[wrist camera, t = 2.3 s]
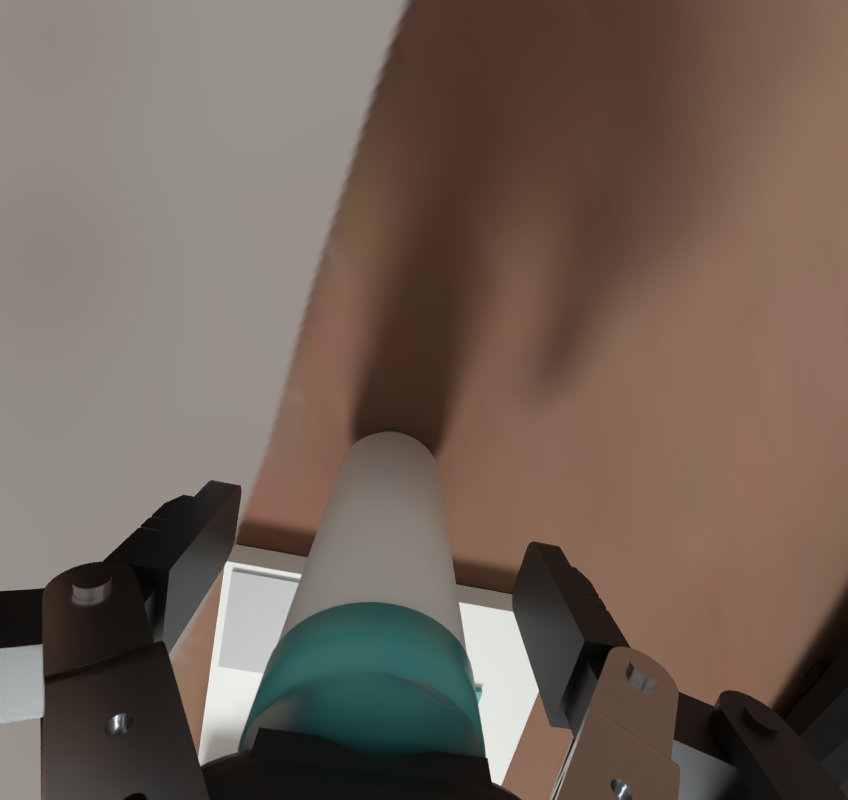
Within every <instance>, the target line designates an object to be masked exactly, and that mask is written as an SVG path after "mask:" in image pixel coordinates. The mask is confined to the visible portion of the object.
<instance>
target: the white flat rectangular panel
mask: <svg viewBox="0 0 848 800" xmlns="http://www.w3.org/2000/svg"><path fill="white" fill-rule="evenodd" d="M307 558H308V557H303V556H298V555H292V554H286V553H281V552H275V551H270V550H264V549H259V548H253V547H248V546H242V545H237V544H236V545H235V547H234V548H233V550H232V551H231V553H230V556H229V558H228V560H227V562H226V564H225V567H224V575H223V582H222V589H221V596H220V604H219V611H218V618H217V625H216V632H215V640H214V647H213V654H212V661H211V669H210V676H209V683H208V690H207V698H206V705H205V712H204V719H203V726H202V734H201V741H200V748H199V755H198V760H199V764H200V766H202V765H203V764H205V763H207V762H209V761H212V760H214V759H217V758H219V757H222V756H225V755H228V754H232V753H236V752H238V746H239V742H240V738H241V735H242V732H243V730H244V727H245V724H246V721H247V718H248V716H249V713H250V710H251V707H252V705H253V702H254V699H255V696H256V693H257V691H258V688H259V685H260V682H261V679H262V677H263V674H264V671H265V668H266V666H267V663H268V660H269V658H270V656H271V654H272V652H273V650H274V649H275V647H276V646H277V644H278V641H279V638H280V635H281V632H282V629H283V627H284V624H285V621H286V618H287V615H288V612H289V609H290V607H291V604H292V601H293V598H294V595H295V592H296V589H297V587H298V584H299V581H300V578H301V575H302V572H303V570H304V567H305V564H306V561H307ZM456 587H457V593H458V599H459V606H460V612H461V619H462V625H463V631H464V638H465V644H466V651H467V656H468V658H469V660H470V663H471V667H472V671H473V676H474V682H475V688H476V694H477V700H478V706H479V713H480V719H481V725H482V731H483V737H484V743H485V752H486V758H488V763H489V769H490V775H491V781H492V782H494V783H496V784H498V785H500V786H501V785H502V782H503V780H504V777H505V775H506V772H507V770H508V767H509V765H510V762H511V760H512V757H513V755H514V752H515V750H516V747H517V745H518V742H519V739H520V737H521V734H522V732H523V729H524V727H525V724H526V722H527V719H528V717H529V714H530V712H531V709H532V707H533V704H534V702H535V699H536V697H537V694H538V692H539V689H538V686H537V683H536V680H535V677H534V674H533V671H532V668H531V665H530V662H529V659H528V656H527V652H526V649H525V646H524V643H523V640H522V637H521V634H520V631H519V628H518V625H517V622H516V619H515V616H514V612H513V608H512V594H507V593H502V592H496V591H491V590H485V589H480V588H474V587H469V586H463V585H458V584H456Z"/></svg>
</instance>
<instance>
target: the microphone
mask: <svg viewBox="0 0 848 800" xmlns="http://www.w3.org/2000/svg"><path fill="white" fill-rule="evenodd" d="M800 690H801V691H802V692H803V693H804V694H805V695H804V696H803V697H802V699H801V700H800V701H799V702H798V703H797V704H796V706H795V707H794V708H793V709H792V710H791V712H790V713H789V714H788V715H787V716H786V718H785V719H784V721H785V722H786V723H787V724H788V725H789V726H790V727H791V729H792V730H793V731H794V732H795V733H796V735H797V736H798V737H799V738H800V740H801V741H802V742H803V743H804V745H805V746H806V747H807V748H808V749H809V751H810V752H811V753H812V754H813V756H814V757H815V758H816V759H817V761H818V762H819V763H820V764H821V765H822V767H823V768H824V769H825V770H826V772H827V773H828V774H829V775H830V777H831V778H832V779H833V780H834V781H835V783H836V784H837V785H838V786H839V788H840V789H841V790H842V791H843V793H844V794H845V795H846V796H847V797H848V644H847V645H846V647H845V648H844V649H843V650H842V651H841V652H840V654H839V655H838V656H837V657H836V658H835V660H834V661H833V662H832V663H831V662H830V663H822V664H818V665H816V666H815V667H814V669H813V670H812V671H811V672H810V673H809V674H808V676H807V677H806V678H805V679H804V680H803V682H802V683H801V687H800Z"/></svg>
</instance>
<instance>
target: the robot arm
mask: <svg viewBox="0 0 848 800" xmlns="http://www.w3.org/2000/svg"><path fill="white" fill-rule="evenodd" d="M240 499H241V486H239V485H234V484H229V483H223V482H218V481H213V480H211V481H209V482H208V483H207V484H206V485H205V486H204V487H203V488H202V489H201V490H200V491H199V492H198V493H197V494H196V496H195V497H192V496H187V495H182V496H180V497H178V498H176V499H173V500H171V501H169V502H167V503H164V504H163V505H162V506H161V507H160V508H159V509H158V510H157V511H156V512H155V513H154V514H153V515H152V517H151V518H149V519H147V520H146V521H145V522H144V523H143V524H142V525H141V528H138V529H137V530H136V531H135V532H134V533H133V534H131V535H130V536H129V537H128V538H127V539H126V540H125V541H124V542H123V543H122V544H121V545H120V546H119V547H118V548H116V549H115V550H114V551H113V552H112V553H111V554H110V555H109V556H108V557H107V558H106V559H105V560H104V561H103V562H93V563H88V564H83V565H79V566H76V567H73V568H71V569H69V570H66V571H64V572H63V573H61V574H59V575H58V576H56V577H55V578H53V579H52V580H51V581H50V582H49V583H48V584H47V586H46V587H45V588H42V589H32V590H15V591H0V724H2V723H8V722H14V721H21V720H28V719H34V718H40V729H41V730H40V734H41V735H40V736H41V737H40V739H41V800H521V799H520V798H519V797H517V796H516V795H514V794H513V793H512V792H510V791H509V790H507V789H505V788H503V787H502V786H500V785H498V784H496V783H494V782H492V781H491V775H490V769H489V763H488V758H484V757H476V756H469V755H461V754H454V753H446V752H439V751H429V752H423V753H416V754H410V755H403V756H397V757H390V758H384V759H373V758H370V757H368V756H365V755H363V754H361V753H358V752H356V751H354V750H351V749H349V748H346V747H344V746H342V745H339V744H337V743H335V742H332V741H330V740H328V739H325V738H323V737H321V736H318V735H312V734H305V733H297V732H290V731H282V730H275V729H267V728H260V727H259V729H258V732H257V735H256V738H255V742H254V745H253V748H252V749H251V750H245V751H239V752H236V753H232V754H228V755H225V756H222V757H219V758H217V759H214V760H212V761H209V762H207V763H205V764H203V765H202V766H200V764H199V760H198V756H197V753H196V749H195V746H194V742H193V739H192V735H191V732H190V728H189V725H188V721H187V718H186V714H185V711H184V707H183V704H182V700H181V697H180V693H179V689H178V686H177V682H176V679H175V675H174V672H173V668H172V665H171V661H170V658H169V653H170V651H171V649H172V648H173V646H174V644H175V643H176V641H177V640H178V638H179V637H180V635H181V634H182V632H183V630H184V629H185V627H186V626H187V624H188V622H189V621H190V619H191V618H192V616H193V614H194V613H195V611H196V610H197V608H198V607H199V605H200V603H201V602H202V600H203V599H204V597H205V595H206V594H207V592H208V591H209V589H210V587H211V586H212V584H213V583H214V581H215V579H216V578H217V576H218V575H219V573H220V572H221V570H222V568H223V567H224V565H225V564H226V562H227V560H228V558H229V556H230V553H231V551H232V547H233V544H234V540H235V534H236V527H237V520H238V513H239V505H240ZM512 608H513V612H514V616H515V619H516V622H517V625H518V628H519V631H520V634H521V637H522V640H523V643H524V646H525V649H526V652H527V656H528V659H529V662H530V665H531V668H532V671H533V674H534V677H535V680H536V683H537V686H538V689H539V692H540V695H541V698H542V702H543V705H544V708H545V711H546V714H547V717H548V720H549V723H550V726H552V727H559V728H566V729H571V731H572V734H573V739H572V742H571V744H570V747H569V749H568V752H567V754H566V757H565V759H564V762H563V765H562V767H561V770H560V773H559V775H558V778H557V780H556V783H555V786H554V788H553V791H552V794H551V796H550V799H549V800H848V798H847V796H846V795H845V794H844V793H843V791H842V790H841V789H840V788H839V786H838V785H837V784H836V783H835V781H834V780H833V779H832V778H831V777H830V775H829V774H828V773H827V772H826V770H825V769H824V768H823V767H822V765H821V764H820V763H819V762H818V761H817V759H816V758H815V757H814V756H813V754H812V753H811V752H810V751H809V749H808V748H807V747H806V746H805V745H804V743H803V742H802V741H801V740H800V738H799V737H798V736H797V735H796V733H795V732H794V731H793V730H792V729H791V727H790V726H789V725H788V724H787V723H786V722H785V721H784V720H783V719H782V718H781V717H780V716H779V715H777V714H776V713H775V712H774V711H773V710H771V709H770V708H769V707H767V706H766V705H764V704H763V703H761V702H760V701H758V700H756V699H754V698H752V697H750V696H748V695H746V694H743V693H741V692H737V691H731V690H729V691H724V692H722V693H721V694H720V696H719V698H718V700H717V702H716V704H715V706H712V705H709V704H707V703H704V702H702V701H700V700H697V699H695V698H692V697H690V696H688V695H685V694H683V693H680V692H678V688H677V686H676V684H675V682H674V680H673V679H672V677H671V676H670V675H669V673H668V672H667V671H666V670H665V669H664V668H663V667H662V666H661V665H660V664H659V663H657V662H656V661H655V660H653V659H652V658H650V657H649V656H647V655H646V654H644V653H642V652H640V651H637V650H635V649H632V648H631V647H630V646H629V644H628V643H627V641H626V639H625V638H624V636H623V634H622V633H621V631H620V629H619V628H618V626H617V625H616V623H615V621H614V620H613V618H612V616H611V615H610V613H609V612H608V611H606V607H605V605H604V603H603V602H602V600H601V599H600V598H599V595H598V594H597V592H596V590H595V589H594V587H593V585H592V584H591V582H590V581H589V580H588V579H587V578H586V577H585V576H584V575H583V574H582V573H581V572H580V571H578V570H577V569H576V568H574V567H571V566H570V564H569V562H568V560H567V559H566V557H565V555H564V553H563V552H562V550H561V548H560V547H559V546H555V545H549V544H544V543H539V542H531V543H530V544H529V545H528V547H527V550H526V553H525V556H524V559H523V562H522V565H521V568H520V571H519V573H518V576H517V579H516V582H515V585H514V589H513V594H512Z"/></svg>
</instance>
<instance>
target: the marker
mask: <svg viewBox="0 0 848 800" xmlns="http://www.w3.org/2000/svg"><path fill="white" fill-rule="evenodd" d="M259 727H260V728H267V729H275V730H282V731H290V732H297V733H305V734H312V735H318V736H321V737H323V738H325V739H328V740H330V741H332V742H335V743H337V744H339V745H342V746H344V747H346V748H349V749H351V750H354V751H356V752H358V753H361V754H363V755H365V756H368V757H370V758H373V759H384V758H390V757H397V756H403V755H410V754H416V753H423V752H429V751H439V752H446V753H454V754H461V755H469V756H476V757H484V758H486V752H485V743H484V737H483V731H482V725H481V719H480V713H479V706H478V700H477V694H476V688H475V682H474V676H473V671H472V667H471V663H470V660H469V658H468V656H467V651H466V644H465V638H464V631H463V625H462V619H461V612H460V606H459V599H458V593H457V587H456V580H455V574H454V567H453V561H452V554H451V548H450V542H449V535H448V529H447V522H446V516H445V510H444V503H443V497H442V490H441V484H440V478H439V471H438V467H437V464H436V461H435V459H434V457H433V455H432V454H431V453H430V451H429V450H428V449H427V448H426V447H425V446H424V445H423V444H422V443H420V442H419V441H418V440H416V439H414V438H412V437H410V436H408V435H406V434H404V433H401V432H397V431H383V432H379V433H376V434H372V435H369V436H367V437H365V438H363V439H361V440H359V441H358V442H356V443H355V444H354V445H353V446H352V447H351V448H350V449H349V450H348V451H347V452H346V454H345V456H344V457H343V459H342V462H341V464H340V467H339V470H338V473H337V475H336V478H335V481H334V484H333V487H332V490H331V493H330V495H329V498H328V501H327V504H326V507H325V510H324V512H323V515H322V518H321V521H320V524H319V527H318V530H317V532H316V535H315V538H314V541H313V544H312V547H311V550H310V552H309V555H308V558H307V561H306V564H305V567H304V570H303V572H302V575H301V578H300V581H299V584H298V587H297V589H296V592H295V595H294V598H293V601H292V604H291V607H290V609H289V612H288V615H287V618H286V621H285V624H284V627H283V629H282V632H281V635H280V638H279V641H278V644H277V646H276V647H275V649H274V650H273V652H272V654H271V656H270V658H269V660H268V663H267V666H266V668H265V671H264V674H263V677H262V679H261V682H260V685H259V688H258V691H257V693H256V696H255V699H254V702H253V705H252V707H251V710H250V713H249V716H248V718H247V721H246V724H245V727H244V730H243V732H242V735H241V738H240V742H239V746H238V752H239V751H245V750H251V749H252V748H253V745H254V742H255V738H256V735H257V732H258V729H259Z"/></svg>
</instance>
